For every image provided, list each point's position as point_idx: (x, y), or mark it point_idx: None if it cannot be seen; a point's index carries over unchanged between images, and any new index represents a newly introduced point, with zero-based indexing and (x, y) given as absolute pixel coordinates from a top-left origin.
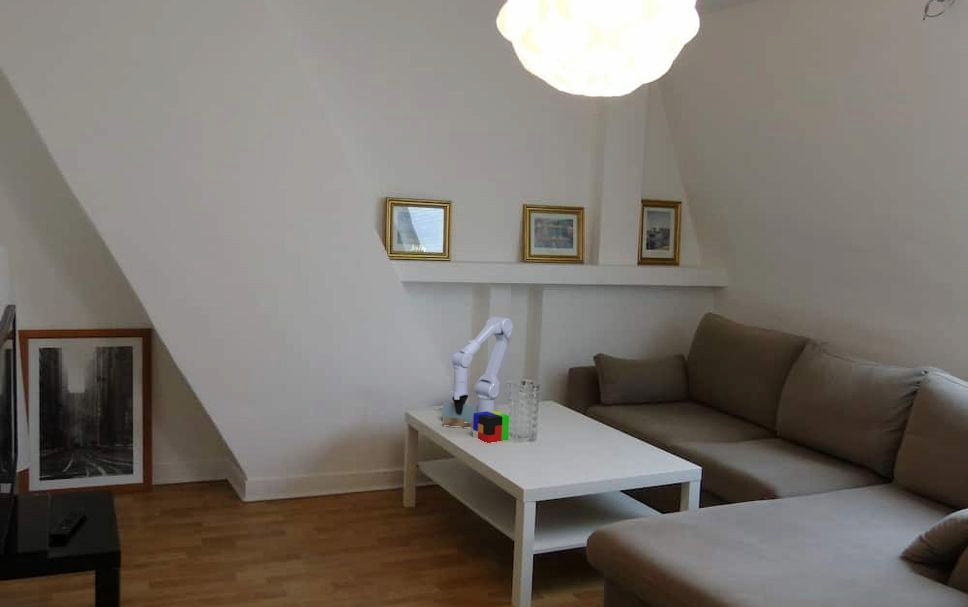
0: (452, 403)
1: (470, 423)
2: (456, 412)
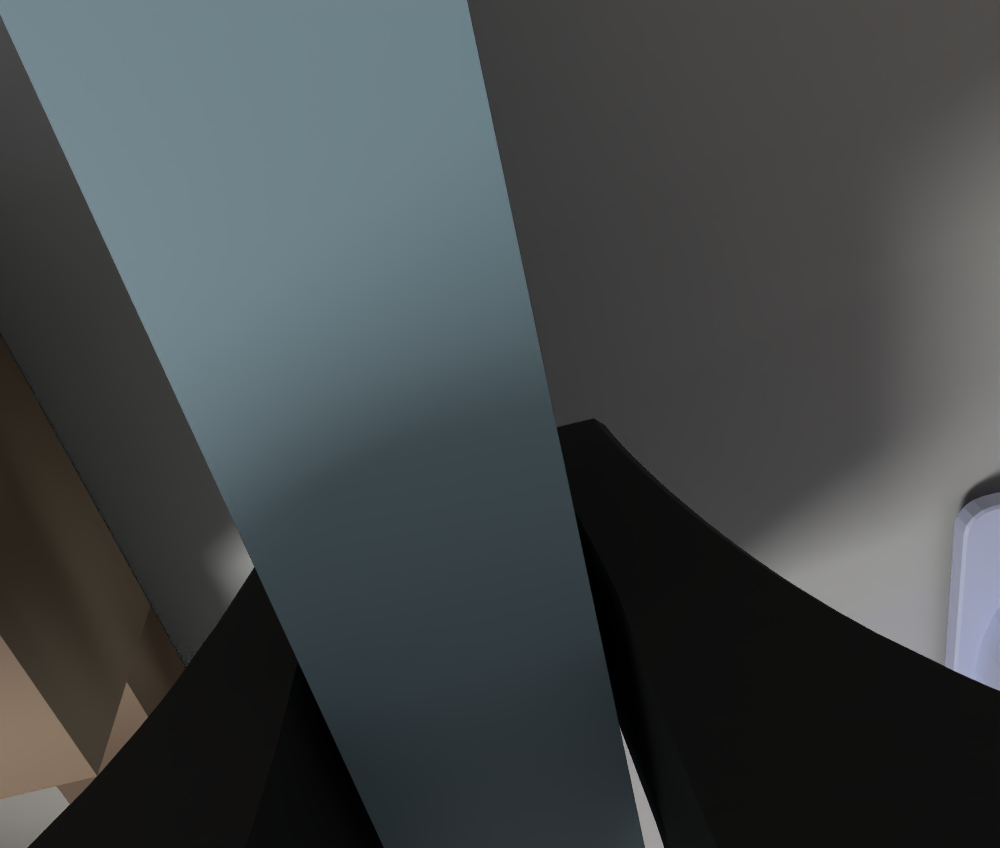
0: (443, 469)
1: None
2: None
